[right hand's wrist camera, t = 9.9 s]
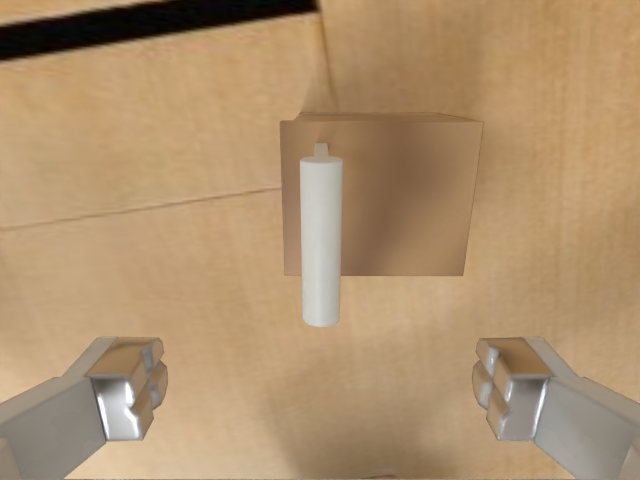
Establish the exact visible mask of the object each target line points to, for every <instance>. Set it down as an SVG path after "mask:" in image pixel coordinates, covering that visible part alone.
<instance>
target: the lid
mask: <svg viewBox="0 0 640 480" xmlns="http://www.w3.org/2000/svg"><path fill="white" fill-rule="evenodd" d="M483 124H484V122H482V121H297V120H282V121H281V122H280V145H281V175H282V206H283V236H284V267H285V276H302V317H303V320H304V321H305V323H307V324H308V325H311V326H314V327H328V326H331V325H334V324H335V323H337V322H338V320H339V318H340V277H341V276H463V272H464V264H465V257H466V250H467V242H468V235H469V228H470V220H471V213H472V205H473V198H474V191H475V183H476V176H477V168H478V161H479V154H480V146H481V139H482V132H483Z"/></svg>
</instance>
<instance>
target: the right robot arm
mask: <svg viewBox="0 0 640 480" xmlns="http://www.w3.org/2000/svg"><path fill="white" fill-rule="evenodd" d="M476 353H477V355H478V357H479V359H480V360H479V361H478V363H477V364H476V365H475V366H474V367H473V374H472V383H473V390H474V394H475V397H476V399H477V401H478V403H479V405H480V406H482V407H483V408H485V409H486V410H487V417H486V419H487V421H488V423H489V425H490V427H491V429H492V431H493V433H494V435H495V437H496V438H497V440H502V441H534V443H535V444H536V445H537V446H538V447H539V448H541V449H542V450H543V451H544V452H545V453H547V454H548V455H549V456H550V457H551V458H553V459H554V460H555V461H556V462H557V463H559V464H560V465H561V466H562V467H563V468H565V469H566V470H567V471H568V472H569V473H571V474H572V475H573V476H574V477H575V478H577V479H63V478H65V477H66V476H67V475H68V474H69V473H71V472H72V471H73V470H74V469H76V468H77V467H78V466H79V465H80V464H82V463H83V462H84V461H85V460H86V459H88V458H89V457H90V456H91V455H92V454H94V453H95V452H96V451H97V450H98V449H100V448H101V447H102V446H103V445H104V444H106V441H137V440H143V439H144V437H145V435H146V433H147V431H148V429H149V427H150V425H151V423H152V421H153V419H154V417H153V410H154V409H155V408H157V407H158V406H160V405H161V403H162V401H163V399H164V397H165V394H166V389H167V385H168V373H167V367H166V366H165V365H164V364H163V363H162V361H161V360H160V359H161V357H162V355H163V354H164V348H163V343H162V340H161V339H159V338H149V337H100V338H96V339H95V341H94V342H93V343H92V344H91V345H90V346H89V347H88V348H87V349H86V350H85V351H84V353H83V354H82V355H81V356H80V357H79V358H78V359H77V360H76V361H75V362H74V363H73V365H72V366H71V367H70V368H69V369H68V370H67V371H66V372H65V373H64V374H63V375H62V377H54V378H52V379H50V380H48V381H46V382H44V383H41V384H39V385H37V386H35V387H33V388H31V389H29V390H27V391H25V392H23V393H21V394H19V395H17V396H15V397H13V398H11V399H9V400H7V401H5V402H3V403H1V404H0V480H640V404H639V403H637V402H635V401H633V400H631V399H629V398H627V397H625V396H623V395H621V394H619V393H617V392H615V391H613V390H611V389H609V388H607V387H605V386H603V385H601V384H598V383H596V382H594V381H592V380H590V379H588V378H586V377H578V375H577V374H576V373H575V372H574V371H573V370H572V369H571V368H570V367H569V366H568V365H567V363H566V362H565V361H564V360H563V359H562V358H561V357H560V356H559V355H558V354H557V353H556V351H555V350H554V349H553V348H552V347H551V346H550V345H549V344H548V343H547V342H546V340H545V339H543V338H541V337H519V338H480V339H479V341H478V343H477V347H476Z"/></svg>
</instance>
